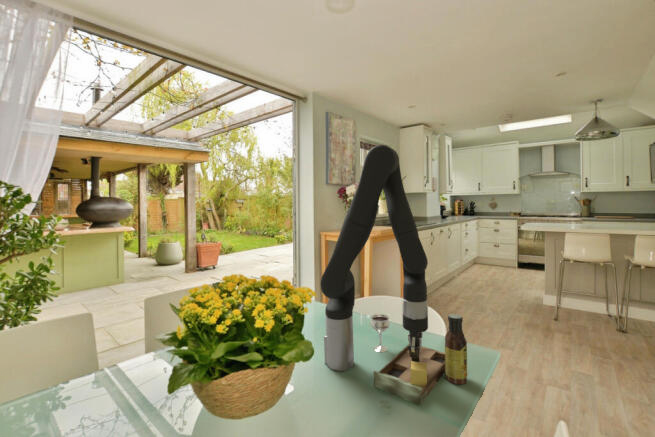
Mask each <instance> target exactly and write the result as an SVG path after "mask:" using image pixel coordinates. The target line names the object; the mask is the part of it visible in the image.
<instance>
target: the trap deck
mask: <svg viewBox="0 0 655 437" xmlns="http://www.w3.org/2000/svg"><path fill="white" fill-rule="evenodd" d="M408 347H409V344H407V345H406V346H405V347H404V348H403V349H402V350H401V351H400V352H398V353H397V355H394V357H393V358H392V359H391V360H390V361H389V362H387V364H385V365H384V366H383V367H382V368H381V369H380V370H379V371H376V370H374V371H373V373H372V374H373V377H372V378H373V387H375V388H378V389H380V390H382V391H385V392H387V393H389V394H391V395H394V396H396V397H399V398H401V399H403V400H405V401H408V402H410V403H412V404H415V405H417V406H422V405H423V403H424V401H426V398H427V397H428V395H429V394H431V392H432V390H433V389H434V388H435V386H436V385H437V383H438V382H439V381H440V379H441V378H442V377H443V375H444V374H445V352H443V351H439V350H435V349H432V348H429V347H426V346H421V351H420V362H421V363H427V384H426V385H425V386H420V385H414V384H411V361H412V357H410V354H409V349H408Z"/></svg>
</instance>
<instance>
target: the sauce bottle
mask: <svg viewBox="0 0 655 437" xmlns="http://www.w3.org/2000/svg"><path fill="white" fill-rule="evenodd" d="M447 316H448V317H447V319H448V330H447V333H446V334H445V336H444V353H445V372H444V374H445V378H446V380H447V381H448V382H450V383H452V384H454V385H464V384H466V382H467V380H468V378H467V377H468V343H467V342H468V341H467V339H466V337H465V334H464V331H463V316H462V315H461V314H456V313H449V314H448V315H447Z"/></svg>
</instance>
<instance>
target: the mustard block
mask: <svg viewBox="0 0 655 437" xmlns="http://www.w3.org/2000/svg"><path fill="white" fill-rule="evenodd" d="M411 384H414V385H420V386H425V385H426V384H427V363H421V362H414V361H411Z"/></svg>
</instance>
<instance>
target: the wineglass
mask: <svg viewBox="0 0 655 437" xmlns="http://www.w3.org/2000/svg"><path fill="white" fill-rule="evenodd" d="M370 318H371V321H370V325H371V328H372V329H374V330H375V332H378V334H379V345H375V346H374V347H373V349H374V351H375V352H378V353H386V352H387V351H388V348H387V347H386V346H385V345H382V333H383V332H385V331H386V330H388V329H389V327H390V321H389V319H390V316H388V315H387V314H380V313H377V314H373V315H371V317H370Z"/></svg>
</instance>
